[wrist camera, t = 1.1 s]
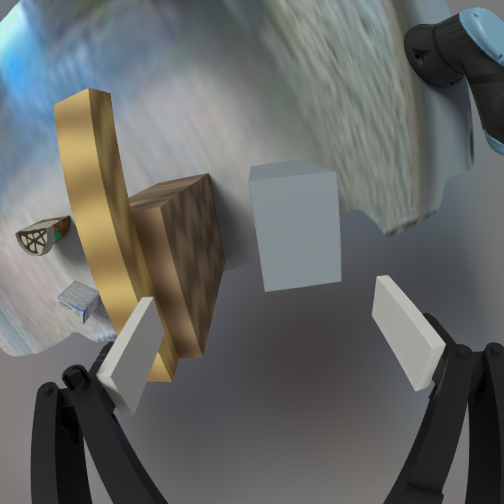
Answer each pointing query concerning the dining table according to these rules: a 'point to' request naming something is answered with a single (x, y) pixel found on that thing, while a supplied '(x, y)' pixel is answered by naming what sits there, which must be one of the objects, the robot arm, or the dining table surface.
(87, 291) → the medicine box
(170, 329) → the tall tower
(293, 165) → the light grey tall block
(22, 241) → the food container
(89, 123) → the ochre bar
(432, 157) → the dining table surface
